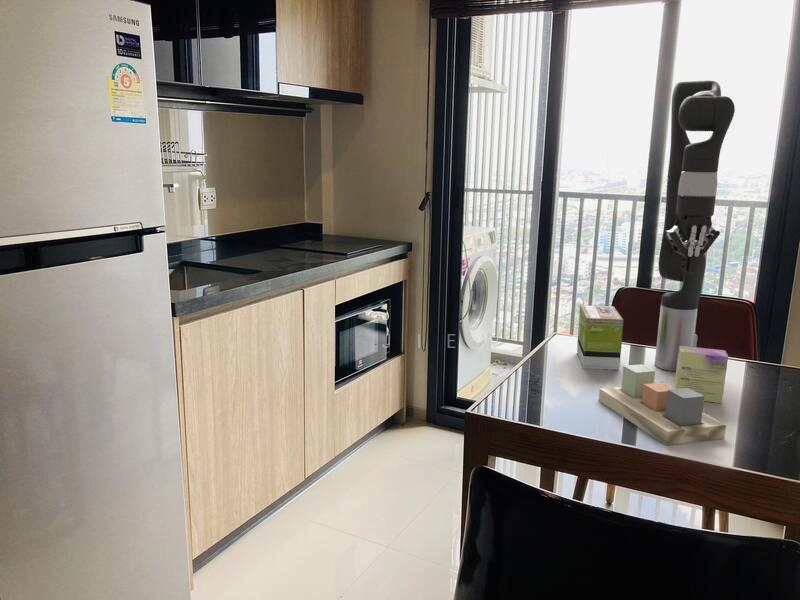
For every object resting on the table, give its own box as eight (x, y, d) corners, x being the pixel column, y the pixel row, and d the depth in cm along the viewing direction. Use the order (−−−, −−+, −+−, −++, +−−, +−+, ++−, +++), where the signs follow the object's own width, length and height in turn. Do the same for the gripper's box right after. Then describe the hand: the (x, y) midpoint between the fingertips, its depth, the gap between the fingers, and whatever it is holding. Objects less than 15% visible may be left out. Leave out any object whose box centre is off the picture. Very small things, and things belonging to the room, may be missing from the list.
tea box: (575, 352, 193) (579, 303, 190) (610, 354, 192) (615, 305, 188) (582, 369, 178) (586, 316, 175) (620, 371, 177) (625, 318, 174)
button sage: (639, 390, 156) (641, 364, 154) (652, 397, 151) (655, 371, 150) (620, 391, 155) (623, 365, 153) (633, 399, 150) (636, 372, 148)
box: (719, 395, 160) (725, 349, 157) (722, 404, 155) (728, 356, 152) (673, 390, 163) (678, 344, 161) (674, 398, 158) (680, 351, 156)
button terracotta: (660, 409, 149) (662, 382, 147) (674, 417, 144) (677, 390, 143) (640, 411, 147) (643, 384, 146) (654, 420, 143) (658, 392, 141)
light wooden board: (649, 395, 160) (650, 383, 159) (724, 438, 136) (726, 425, 135) (598, 400, 156) (599, 388, 155) (666, 445, 132) (668, 431, 132)
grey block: (684, 416, 141) (687, 387, 139) (700, 425, 136) (704, 396, 135) (664, 418, 140) (667, 389, 138) (680, 427, 135) (683, 398, 133)
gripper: (710, 192, 146) (701, 268, 150) (659, 192, 142) (651, 270, 146) (735, 194, 139) (725, 274, 143) (682, 194, 135) (673, 277, 139)
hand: (687, 272), depth 144 cm, fingers closed
